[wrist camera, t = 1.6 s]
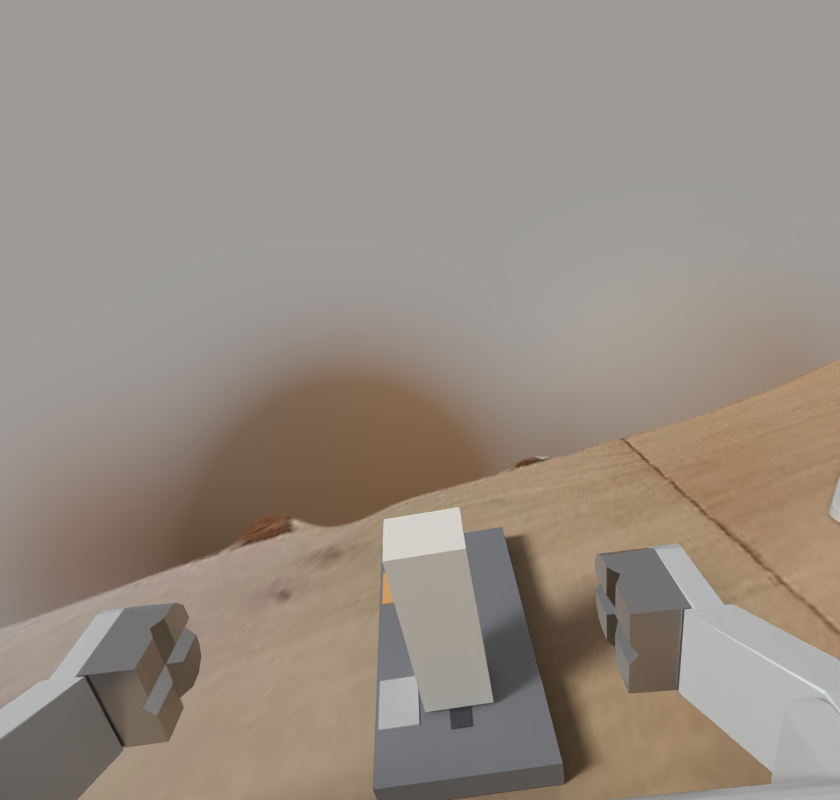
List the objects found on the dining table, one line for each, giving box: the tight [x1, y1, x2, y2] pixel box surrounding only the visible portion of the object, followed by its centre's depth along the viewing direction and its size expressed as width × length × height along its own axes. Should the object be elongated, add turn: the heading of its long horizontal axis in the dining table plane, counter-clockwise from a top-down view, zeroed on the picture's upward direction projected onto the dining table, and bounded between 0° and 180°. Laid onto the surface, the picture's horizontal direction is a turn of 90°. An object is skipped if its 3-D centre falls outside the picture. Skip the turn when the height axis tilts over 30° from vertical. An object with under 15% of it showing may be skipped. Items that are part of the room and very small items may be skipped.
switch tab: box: [382, 507, 494, 712], centre depth 29 cm, size 3×4×12 cm
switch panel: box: [373, 527, 565, 800], centre depth 36 cm, size 18×10×2 cm, turn 2°
